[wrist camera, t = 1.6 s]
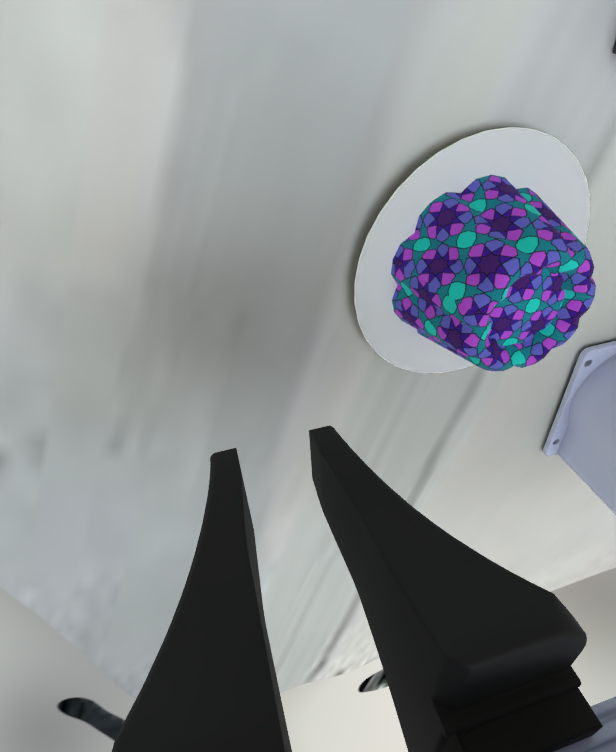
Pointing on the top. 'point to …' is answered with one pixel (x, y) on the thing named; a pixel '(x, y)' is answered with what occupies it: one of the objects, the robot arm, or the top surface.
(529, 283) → the pudding
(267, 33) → the top surface
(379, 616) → the robot arm
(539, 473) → the top surface
